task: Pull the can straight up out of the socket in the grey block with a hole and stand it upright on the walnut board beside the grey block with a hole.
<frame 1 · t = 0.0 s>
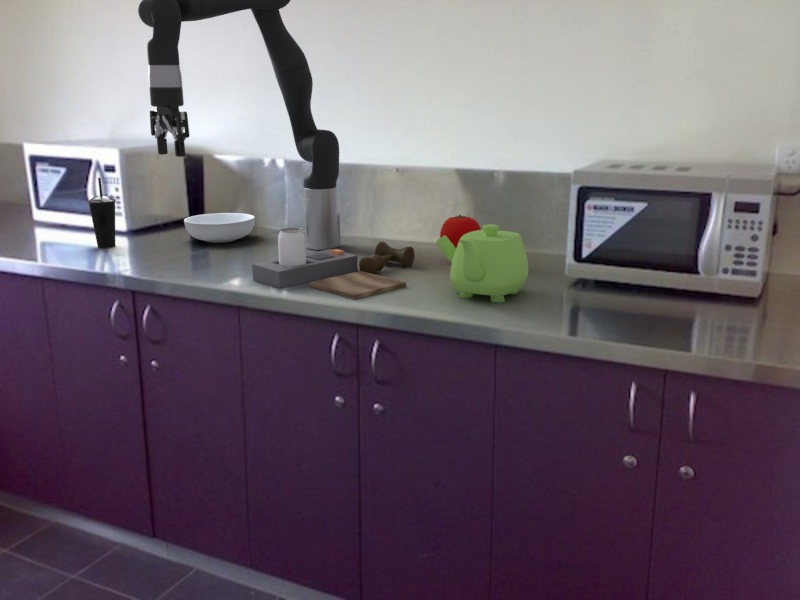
hand: (171, 155, 189), 29 cm above the worktop, tool pointing down, fingers open, 8 cm apart
teapot: (474, 295, 177), on the worktop
can: (293, 279, 192), resting in grey block with hole
kendama: (387, 269, 203), on the worktop
walnut board: (357, 286, 184), on the worktop
grey block with hole: (306, 275, 195), on the worktop
drinking cup: (106, 247, 229), on the worktop
tomato: (460, 263, 207), on the worktop
serving bowl: (221, 240, 238), on the worktop
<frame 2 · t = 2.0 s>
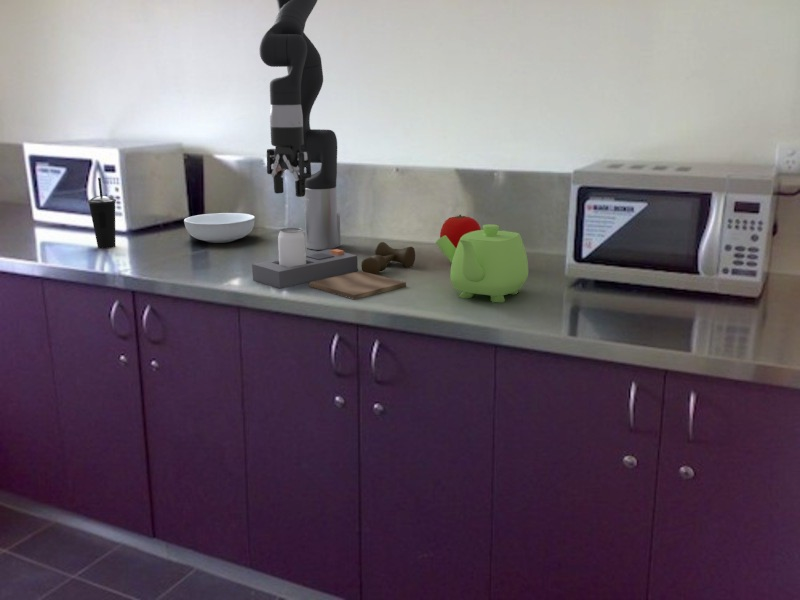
hand: (289, 194, 187), 20 cm above the worktop, tool pointing down, fingers open, 8 cm apart
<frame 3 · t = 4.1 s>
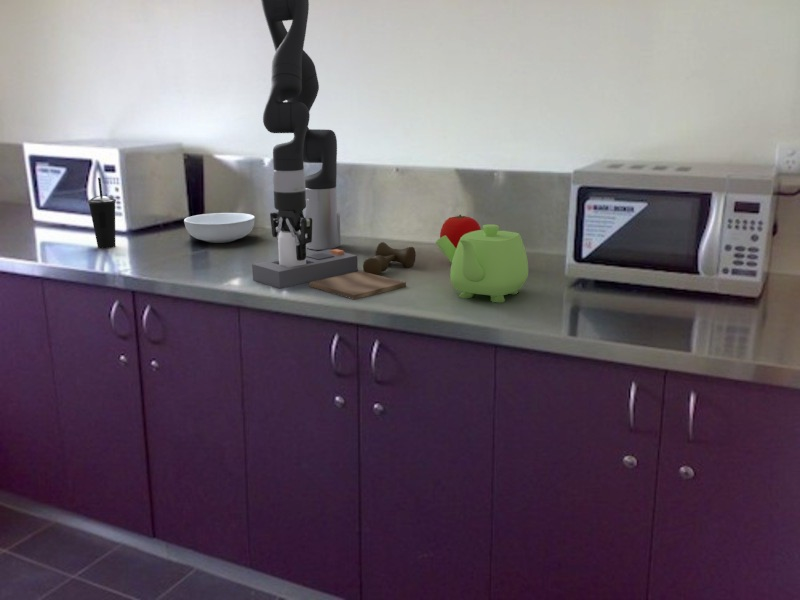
hand: (292, 257, 191), 5 cm above the worktop, tool pointing down, fingers closed on can, 6 cm apart
can: (293, 279, 192), resting in grey block with hole, touching gripper
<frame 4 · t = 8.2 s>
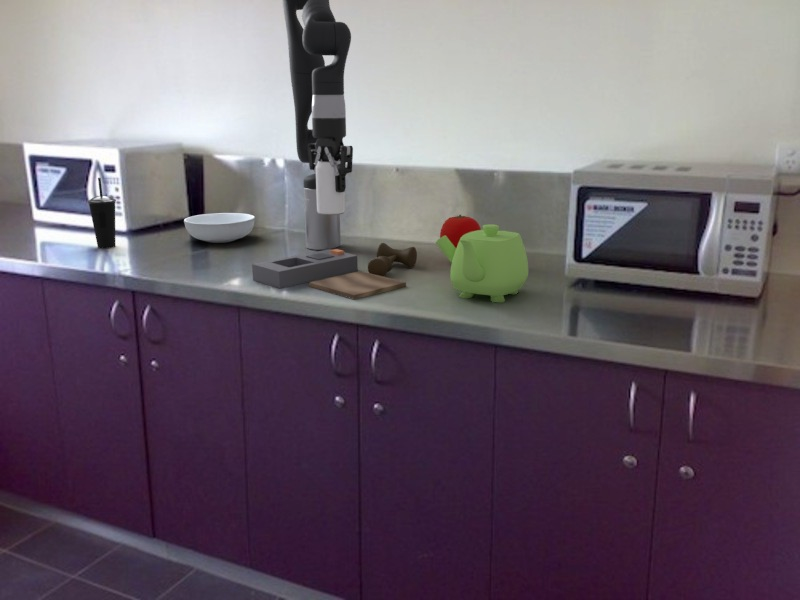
hand: (330, 190, 180), 22 cm above the worktop, tool pointing down, fingers closed on can, 6 cm apart
can: (331, 213, 182), point 17 cm above the worktop, touching gripper
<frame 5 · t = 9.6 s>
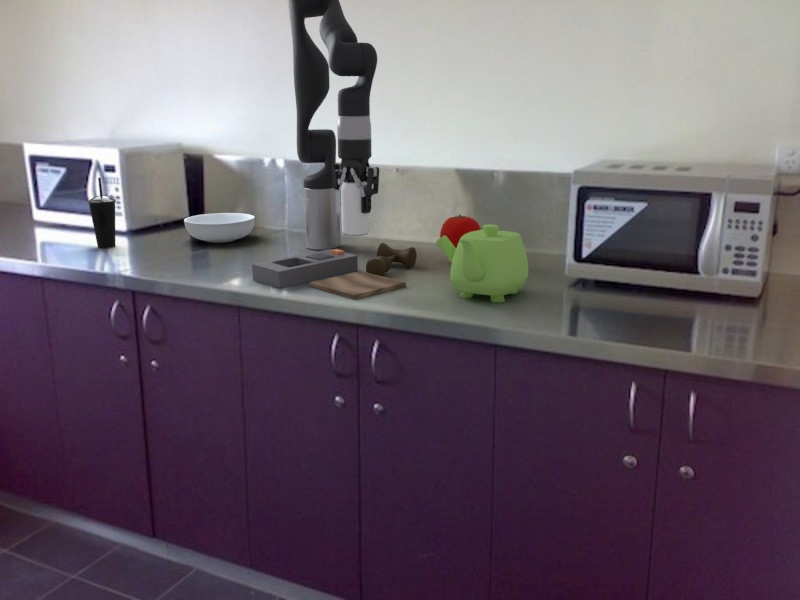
hand: (355, 211, 180), 18 cm above the worktop, tool pointing down, fingers closed on can, 6 cm apart
can: (356, 234, 181), point 12 cm above the worktop, touching gripper
when the fingers open (8 cm above the worktop, at t = 12.3 s): can drops 1 cm, resting on walnut board.
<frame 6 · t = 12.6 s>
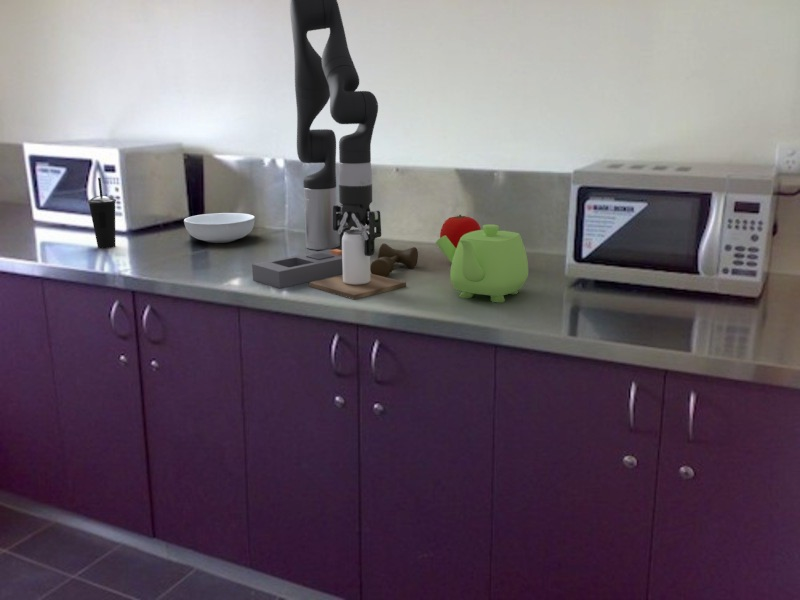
hand: (356, 252, 182), 8 cm above the worktop, tool pointing down, fingers open, 8 cm apart
can: (356, 282, 184), point 1 cm above the worktop, touching walnut board
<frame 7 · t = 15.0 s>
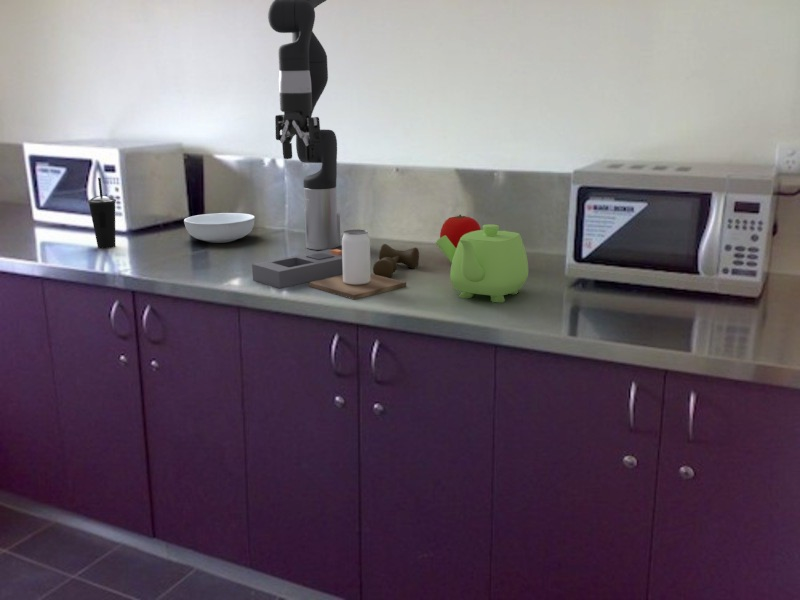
hand: (298, 160, 190), 28 cm above the worktop, tool pointing down, fingers open, 8 cm apart
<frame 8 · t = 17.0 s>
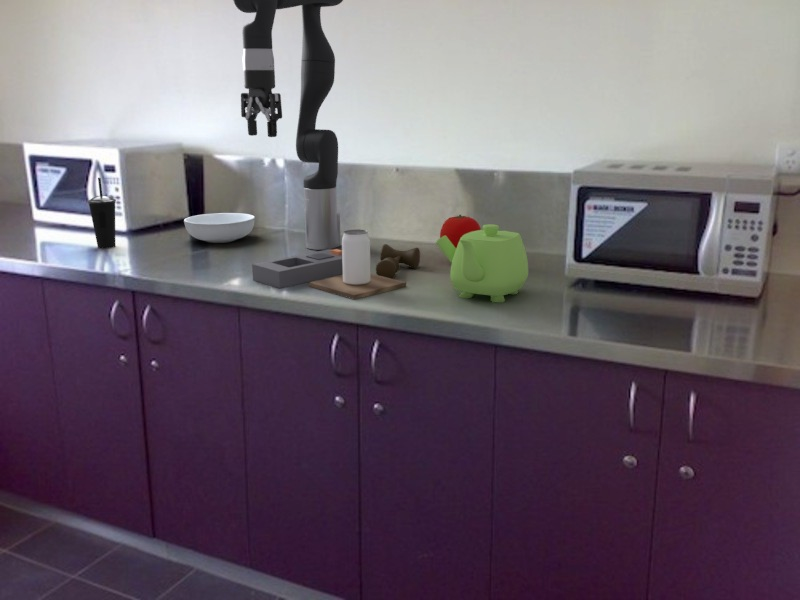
hand: (262, 136, 197), 33 cm above the worktop, tool pointing down, fingers open, 8 cm apart
at the end: can inside the target area (0.2 cm from its centre), point 0.8 cm above the worktop; can tilted 0°; the gripper is holding nothing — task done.
